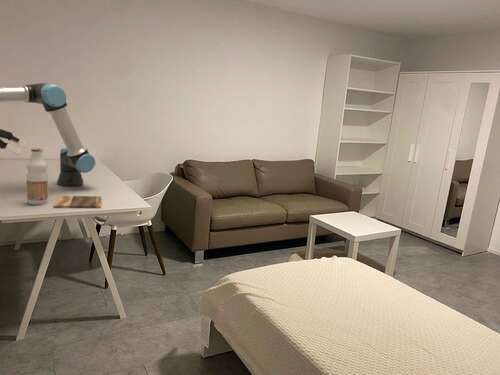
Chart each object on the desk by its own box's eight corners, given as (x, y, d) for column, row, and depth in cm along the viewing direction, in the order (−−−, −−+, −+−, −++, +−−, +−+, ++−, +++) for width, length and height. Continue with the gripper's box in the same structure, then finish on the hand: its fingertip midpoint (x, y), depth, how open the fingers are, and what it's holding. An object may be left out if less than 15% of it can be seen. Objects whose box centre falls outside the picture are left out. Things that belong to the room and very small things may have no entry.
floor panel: (53, 208, 189) (53, 205, 189) (58, 197, 208) (58, 195, 207) (100, 208, 197) (100, 205, 197) (101, 198, 216) (101, 196, 215)
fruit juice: (30, 205, 189) (29, 150, 183) (24, 201, 196) (23, 147, 190) (50, 203, 196) (50, 150, 190) (44, 199, 202) (44, 147, 196)
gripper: (-31, 140, 189) (14, 161, 200) (-25, 124, 170) (24, 147, 181) (-23, 128, 192) (21, 149, 203) (-16, 111, 174) (31, 135, 185)
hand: (22, 148), depth 192 cm, fingers open, 13 cm apart
